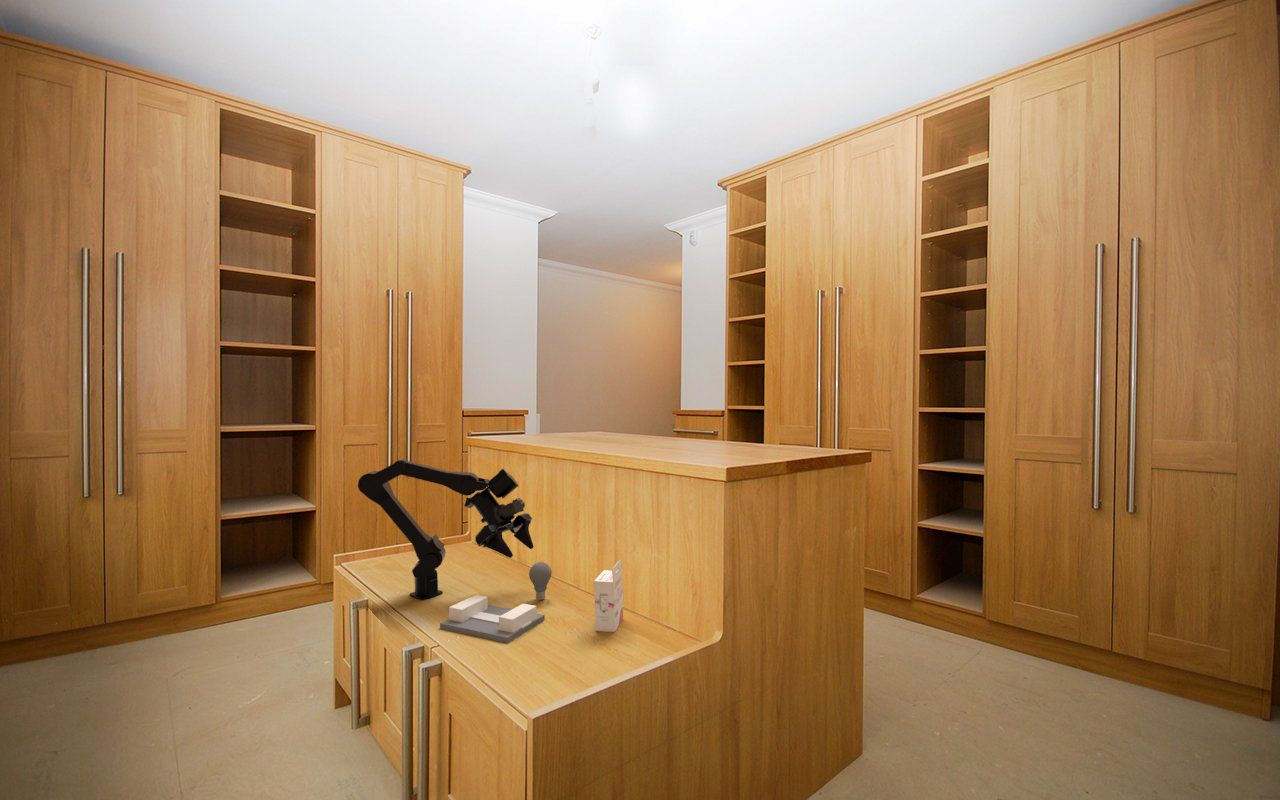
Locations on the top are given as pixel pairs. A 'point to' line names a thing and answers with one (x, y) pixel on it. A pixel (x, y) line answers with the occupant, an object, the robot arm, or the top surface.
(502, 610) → the rail board
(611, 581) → the ink cartridge box
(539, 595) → the light bulb
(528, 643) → the top surface
